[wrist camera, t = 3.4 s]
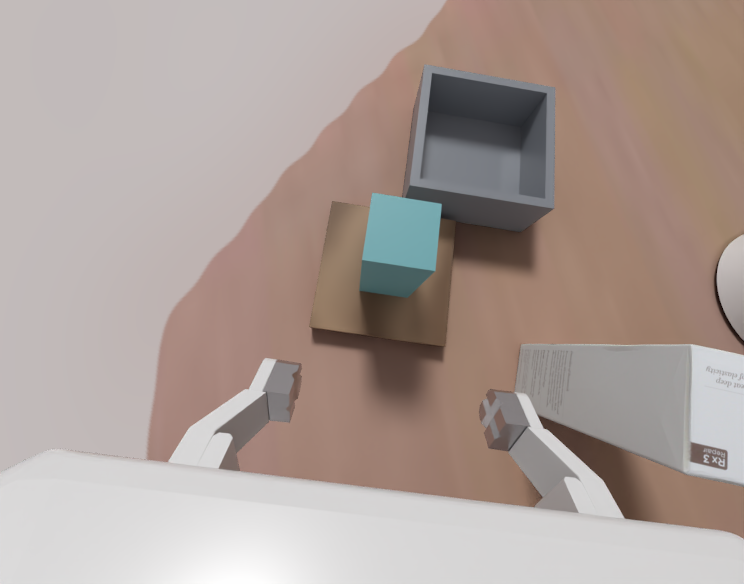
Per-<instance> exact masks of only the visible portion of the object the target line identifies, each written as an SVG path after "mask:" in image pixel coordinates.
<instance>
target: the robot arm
mask: <svg viewBox="0 0 744 584" xmlns="http://www.w3.org/2000/svg"><path fill="white" fill-rule="evenodd" d="M717 288H718V294H719V298H720V302H721V304H722V307H723V310H724V312H725V314H726V316H727V318H728V320H729V322H730V323H731V325H732V326H733V328H734V329H735V331H736V332H737V333H738V335H739V336H740V337H741V338H742V339H743V340H744V234H743V235H741V236H740V237H738V238H736V239H735V240H733V241H732V242H731V243H730V244H729V245H728V246H727V248H726V249H725V250H724V252H723V254H722V256H721V258H720V261H719V265H718V270H717ZM301 369H302V366H301V363H295V362H289V361H283V360H276V359H270V358H265V359H264V360H263V362H262V364H261V366H260V368H259V370H258V372H257V374H256V376H255V378H254V380H253V382H252V384H251V386H250V388H249V390H247V389H245V390H243V391H242V392H240V393H239V394H237V395H236V396H234V397H233V398H232V399H230V400H229V401H227V402H226V403H224V404H223V405H221V406H220V407H218V408H217V409H216V410H214V411H213V412H211V413H210V414H208V415H207V416H205V417H204V418H203V419H201V420H200V421H198V422H197V423H195V424H194V425H192V426H191V427H190V428H189V429H188V431H187V432H186V434H185V436H184V437H183V439H182V440H181V442H180V444H179V445H178V447H177V448H176V450H175V452H174V453H173V455H172V456H171V458H170V460H169V461H168V462H161V461H153V460H145V459H136V458H128V457H120V456H112V455H105V454H97V453H88V452H80V451H73V450H64V449H52V450H48V451H44V452H42V453H40V454H37V455H35V456H33V457H30V458H28V459H26V460H24V461H22V462H20V463H18V464H16V465H14V466H12V467H9V468H8V469H5V470H3V471H1V472H0V584H744V539H743V538H741V537H739V536H737V535H735V534H733V533H730V532H726V531H721V530H713V529H705V528H697V527H688V526H680V525H672V524H664V523H656V522H648V521H640V520H632V519H625V518H624V517H623V515H622V513H621V511H620V509H619V508H618V506H617V504H616V502H615V501H614V499H613V497H612V495H611V494H610V492H609V490H608V488H607V487H606V485H605V483H604V481H603V480H602V479H601V478H600V477H599V476H598V475H596V474H595V473H594V472H593V471H592V470H591V469H590V468H589V467H588V466H587V465H586V464H584V463H583V462H582V461H581V460H580V459H579V458H578V457H577V456H576V455H575V454H574V453H572V452H571V451H570V450H569V449H568V448H567V447H566V446H565V445H564V444H563V443H562V442H560V441H559V440H558V439H557V438H556V437H555V436H554V435H553V434H552V433H551V432H550V431H548V430H547V429H544V428H543V426H542V424H541V422H540V420H539V418H538V416H537V414H536V412H535V409H534V407H533V405H532V403H531V401H530V399H529V397H528V396H527V395H526V394H524V393H517V392H511V391H503V390H495V389H490V390H488V392H487V394H486V396H487V399H485V400H483V401H482V403H481V405H480V409H479V416H480V420H481V423H482V424H483V425H484V426H485V428H486V430H485V432H484V434H485V438H486V441H487V445H488V448H490V449H496V450H503V451H509V452H508V453H509V454H510V455H511V457H512V458H513V459H514V461H515V462H516V463H517V464H518V466H519V467H520V468H521V470H522V471H523V472H524V473H525V475H526V476H527V477H528V479H529V480H530V481H531V483H532V484H533V485H534V486H535V488H536V489H537V490H538V492H539V493H540V494H541V495H542V497H543V498H542V499H541V500H540V501H539V502H538V503H537V504H536V505H535V506H534V507H526V506H518V505H509V504H501V503H493V502H485V501H477V500H469V499H461V498H453V497H445V496H437V495H429V494H421V493H413V492H405V491H396V490H388V489H380V488H372V487H364V486H356V485H348V484H339V483H331V482H323V481H315V480H307V479H299V478H291V477H283V476H274V475H266V474H258V473H250V472H242V471H240V468H239V464H238V459H237V455H236V453H237V452H238V451H239V450H240V449H241V448H242V447H243V446H244V445H245V444H246V443H247V442H248V441H250V440H251V439H252V438H253V437H254V436H255V435H256V434H257V433H258V432H259V431H260V430H261V429H262V428H263V427H264V426H265V425H266V424H267V423H268V422H269V420H270V421H280V422H290V421H291V417H292V414H293V411H294V408H295V400H296V399H298V395H299V392H300V387H301V378H302V376H301V375H300V373H301Z"/></svg>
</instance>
